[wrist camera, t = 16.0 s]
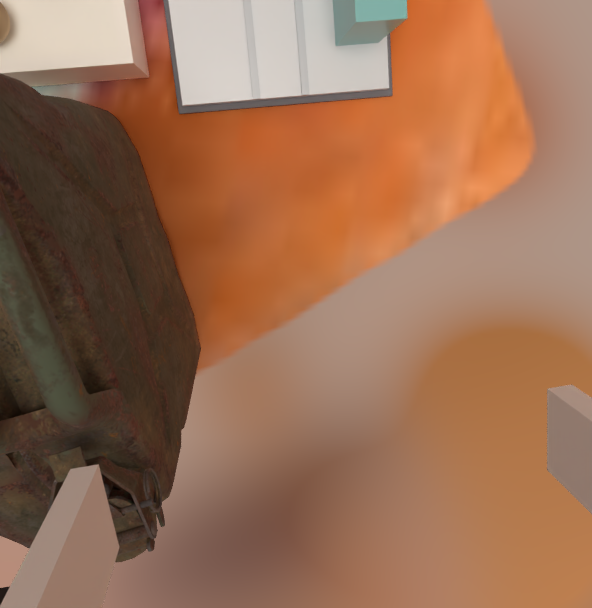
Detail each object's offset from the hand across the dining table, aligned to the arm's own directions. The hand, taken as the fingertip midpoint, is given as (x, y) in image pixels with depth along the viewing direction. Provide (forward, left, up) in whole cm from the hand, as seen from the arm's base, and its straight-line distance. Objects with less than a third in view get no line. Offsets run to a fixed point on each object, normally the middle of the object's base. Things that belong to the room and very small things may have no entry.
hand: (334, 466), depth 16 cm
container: (-13, +2, -35) cm, 38 cm away
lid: (+3, +20, -34) cm, 40 cm away
